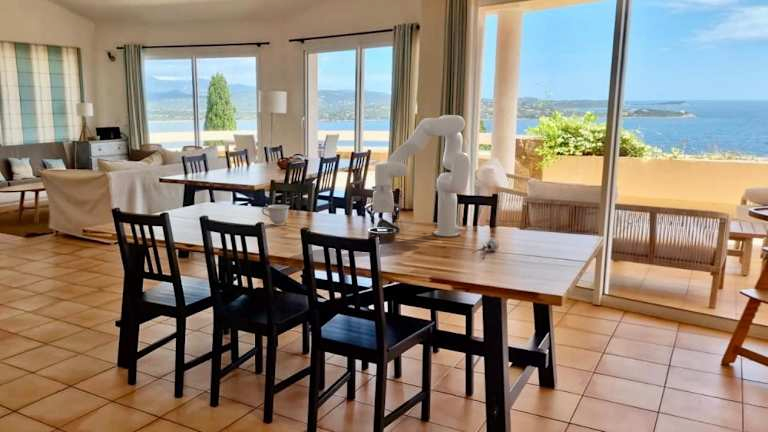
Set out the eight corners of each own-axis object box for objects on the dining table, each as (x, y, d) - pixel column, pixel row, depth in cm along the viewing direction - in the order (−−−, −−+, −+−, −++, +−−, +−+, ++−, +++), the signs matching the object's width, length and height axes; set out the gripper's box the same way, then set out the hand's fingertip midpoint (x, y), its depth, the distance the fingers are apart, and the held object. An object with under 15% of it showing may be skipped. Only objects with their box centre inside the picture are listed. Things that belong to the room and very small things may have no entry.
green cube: (386, 238, 282) (386, 228, 281) (386, 240, 278) (387, 230, 277) (377, 238, 282) (377, 228, 281) (377, 240, 277) (377, 230, 277)
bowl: (394, 237, 287) (394, 227, 286) (396, 243, 274) (396, 232, 273) (367, 237, 286) (367, 227, 285) (368, 243, 273) (368, 232, 272)
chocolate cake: (402, 231, 303) (387, 214, 305) (401, 230, 296) (385, 213, 298) (388, 243, 303) (373, 226, 305) (387, 242, 296) (372, 225, 298)
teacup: (261, 222, 318) (261, 205, 317) (288, 222, 322) (288, 204, 321) (262, 227, 307) (262, 208, 305) (291, 226, 311) (290, 207, 309)
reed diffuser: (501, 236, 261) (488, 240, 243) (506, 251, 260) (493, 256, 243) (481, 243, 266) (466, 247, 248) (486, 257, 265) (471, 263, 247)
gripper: (365, 189, 271) (365, 225, 274) (401, 189, 272) (401, 224, 276) (364, 187, 279) (364, 222, 282) (400, 187, 280) (400, 221, 283)
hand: (383, 223), depth 279 cm, fingers open, 9 cm apart
